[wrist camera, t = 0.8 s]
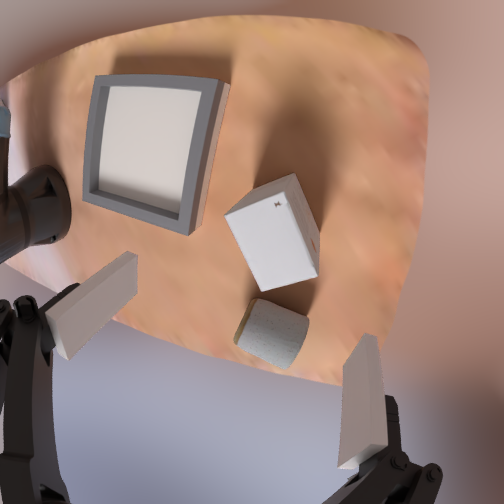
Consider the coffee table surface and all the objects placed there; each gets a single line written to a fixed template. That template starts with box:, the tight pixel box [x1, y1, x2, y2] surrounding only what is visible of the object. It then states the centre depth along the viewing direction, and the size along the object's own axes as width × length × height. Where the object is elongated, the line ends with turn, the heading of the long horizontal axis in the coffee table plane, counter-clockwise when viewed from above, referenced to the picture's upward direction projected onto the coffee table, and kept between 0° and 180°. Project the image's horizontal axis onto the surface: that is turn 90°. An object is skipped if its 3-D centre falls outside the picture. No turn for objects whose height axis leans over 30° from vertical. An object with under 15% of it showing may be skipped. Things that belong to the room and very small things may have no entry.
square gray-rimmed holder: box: [82, 74, 231, 236], centre depth 31 cm, size 18×18×4 cm
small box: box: [224, 173, 320, 292], centre depth 27 cm, size 8×6×10 cm
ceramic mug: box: [234, 298, 309, 369], centre depth 36 cm, size 11×8×8 cm
